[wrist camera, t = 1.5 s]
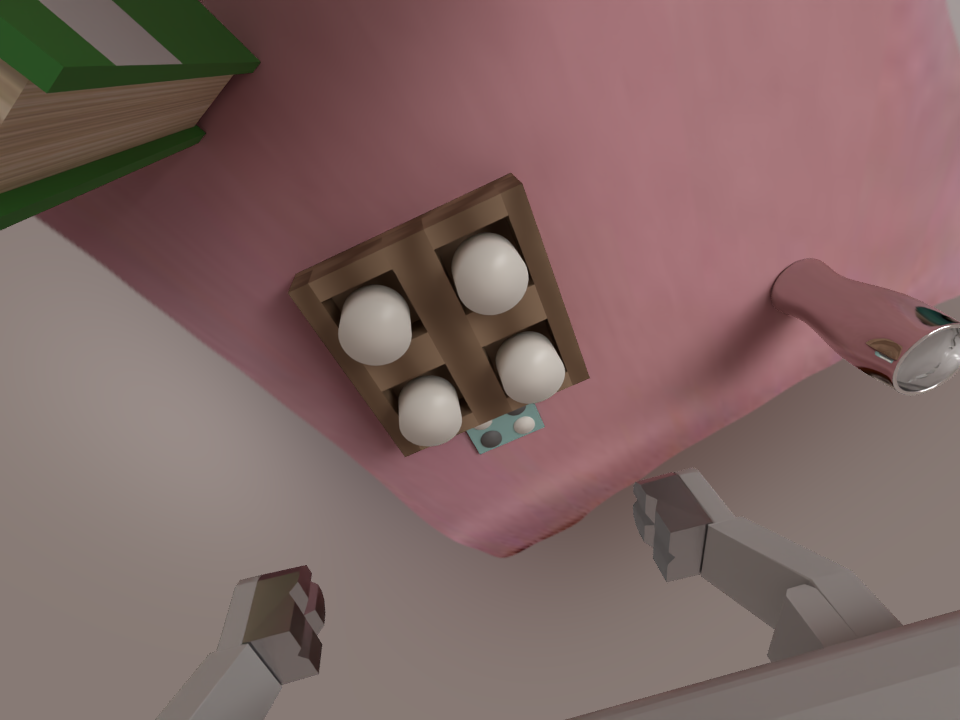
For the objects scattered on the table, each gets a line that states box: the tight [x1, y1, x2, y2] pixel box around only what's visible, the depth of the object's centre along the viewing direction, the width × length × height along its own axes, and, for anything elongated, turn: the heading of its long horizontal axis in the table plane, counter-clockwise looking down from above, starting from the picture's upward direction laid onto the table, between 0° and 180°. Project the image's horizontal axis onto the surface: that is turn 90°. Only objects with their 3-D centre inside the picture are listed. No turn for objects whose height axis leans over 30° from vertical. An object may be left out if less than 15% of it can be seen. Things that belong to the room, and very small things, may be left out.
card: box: [467, 403, 545, 454], centre depth 53 cm, size 8×6×1 cm
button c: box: [495, 331, 565, 404], centre depth 44 cm, size 6×6×3 cm
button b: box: [338, 285, 412, 366], centre depth 39 cm, size 6×6×3 cm
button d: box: [398, 375, 462, 446], centre depth 44 cm, size 6×6×3 cm
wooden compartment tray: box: [288, 173, 590, 457], centre depth 44 cm, size 20×20×4 cm
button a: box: [451, 233, 528, 315], centre depth 38 cm, size 6×6×3 cm
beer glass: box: [771, 258, 960, 395], centre depth 44 cm, size 7×7×15 cm
